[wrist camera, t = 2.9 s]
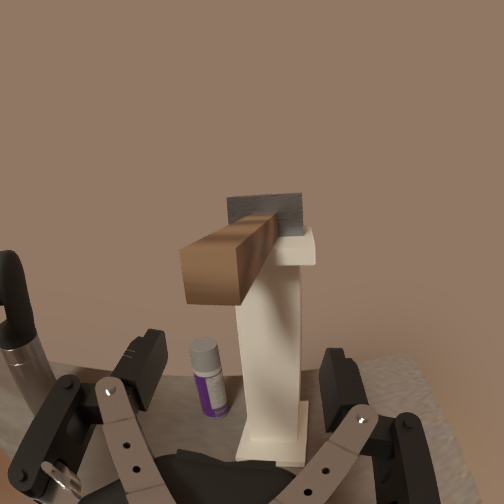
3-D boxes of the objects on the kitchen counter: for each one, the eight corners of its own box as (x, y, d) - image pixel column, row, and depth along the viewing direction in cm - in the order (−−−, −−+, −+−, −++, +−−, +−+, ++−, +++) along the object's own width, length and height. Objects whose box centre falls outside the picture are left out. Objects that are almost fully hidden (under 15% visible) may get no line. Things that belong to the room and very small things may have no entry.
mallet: (302, 305, 12) (298, 198, 11) (140, 301, 13) (126, 212, 12) (303, 229, 34) (301, 192, 33) (240, 231, 35) (237, 196, 34)
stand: (304, 466, 30) (315, 247, 23) (236, 462, 32) (202, 250, 25) (308, 406, 43) (311, 225, 36) (253, 404, 45) (237, 228, 38)
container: (199, 408, 44) (183, 342, 41) (220, 399, 47) (209, 333, 44) (210, 423, 40) (195, 355, 37) (233, 412, 43) (223, 345, 40)
